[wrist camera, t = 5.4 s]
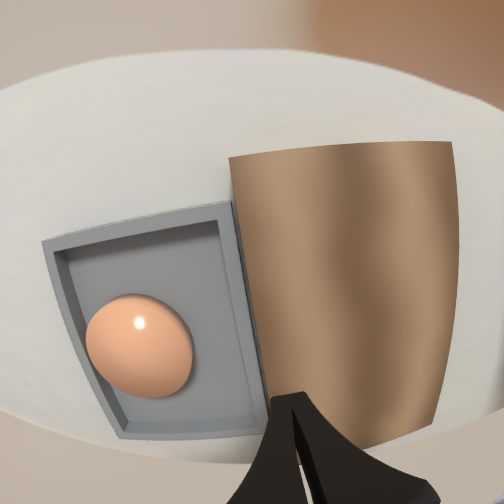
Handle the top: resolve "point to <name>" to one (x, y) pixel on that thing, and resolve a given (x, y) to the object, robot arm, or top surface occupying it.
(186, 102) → the top surface
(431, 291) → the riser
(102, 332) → the peach rounded disc
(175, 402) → the tray
